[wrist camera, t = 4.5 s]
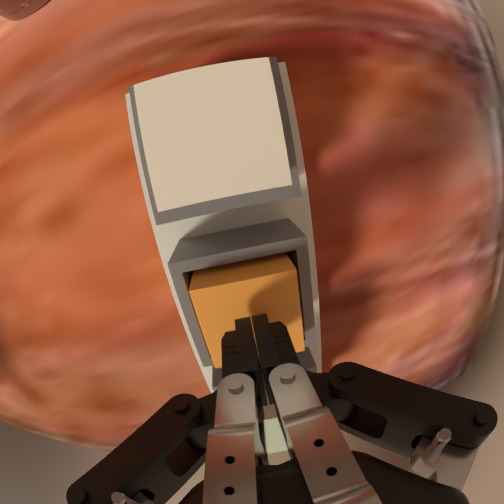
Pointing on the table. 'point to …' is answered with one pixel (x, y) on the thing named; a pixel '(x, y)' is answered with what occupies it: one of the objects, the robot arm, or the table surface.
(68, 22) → the table surface
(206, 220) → the key panel
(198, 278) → the orange key
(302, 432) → the robot arm
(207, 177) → the cream key
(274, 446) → the sage key
